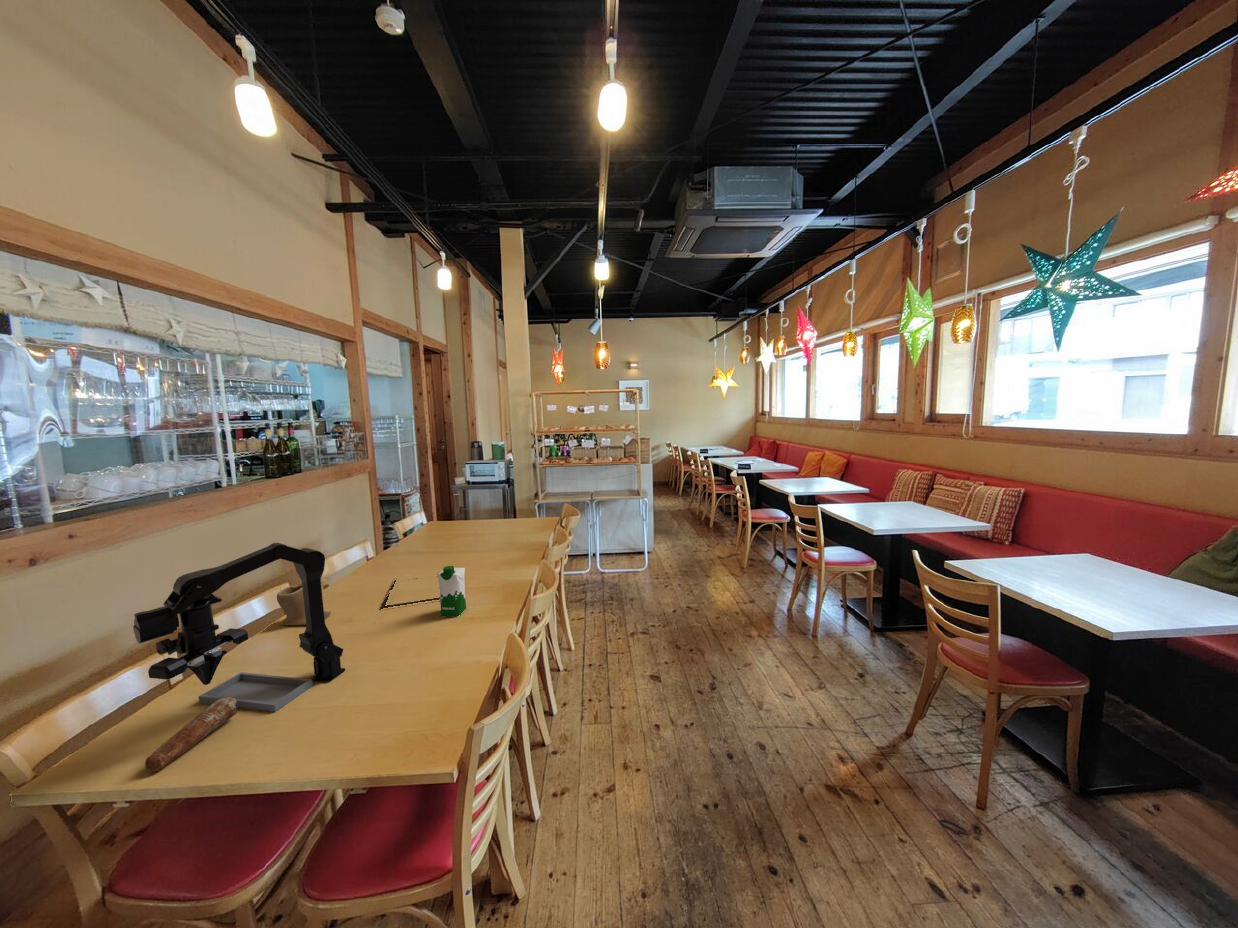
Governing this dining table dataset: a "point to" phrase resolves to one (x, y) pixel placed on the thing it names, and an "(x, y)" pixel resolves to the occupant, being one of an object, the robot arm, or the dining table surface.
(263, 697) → the serving tray
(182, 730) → the brown tapered rod
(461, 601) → the milk carton
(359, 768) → the dining table surface
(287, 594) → the stone cup
